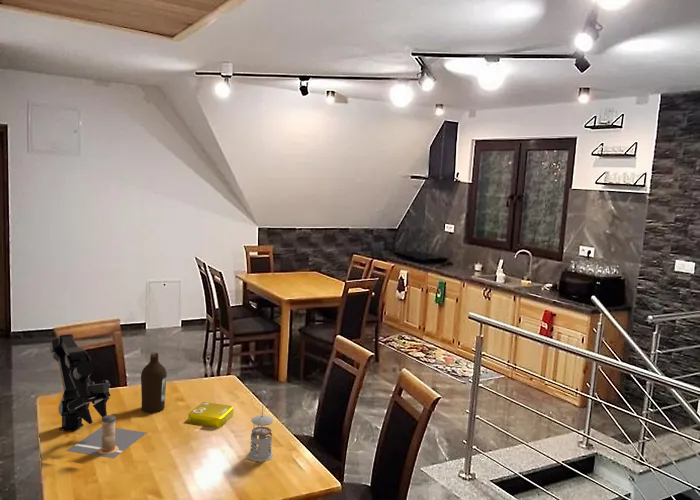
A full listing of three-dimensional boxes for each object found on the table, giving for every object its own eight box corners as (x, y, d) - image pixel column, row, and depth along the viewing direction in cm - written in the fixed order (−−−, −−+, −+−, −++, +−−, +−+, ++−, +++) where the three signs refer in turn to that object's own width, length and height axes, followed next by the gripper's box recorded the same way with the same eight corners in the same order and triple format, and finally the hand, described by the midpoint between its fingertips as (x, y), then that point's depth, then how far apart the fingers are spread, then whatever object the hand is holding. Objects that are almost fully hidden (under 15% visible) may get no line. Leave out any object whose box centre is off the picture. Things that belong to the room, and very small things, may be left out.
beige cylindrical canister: (98, 451, 205) (99, 419, 204) (106, 445, 209) (106, 414, 208) (110, 453, 204) (110, 421, 203) (117, 447, 209) (118, 416, 207)
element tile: (219, 429, 233) (220, 418, 233) (186, 424, 236) (186, 413, 236) (234, 415, 248) (235, 404, 248) (202, 410, 251) (203, 400, 251)
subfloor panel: (65, 454, 204) (65, 450, 204) (103, 429, 226) (103, 425, 226) (113, 462, 201) (114, 457, 201) (147, 436, 223) (147, 432, 222)
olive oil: (138, 414, 243) (139, 357, 240) (142, 404, 253) (143, 349, 250) (164, 413, 245) (166, 356, 242) (167, 403, 255) (168, 349, 253)
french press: (251, 463, 206) (254, 397, 203) (242, 449, 216) (245, 386, 214) (277, 459, 211) (280, 393, 208) (267, 445, 221) (270, 383, 218)
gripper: (85, 376, 205) (102, 415, 202) (113, 370, 223) (129, 406, 221) (59, 390, 206) (76, 430, 203) (89, 383, 224) (105, 420, 221)
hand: (98, 421), depth 212 cm, fingers open, 9 cm apart
